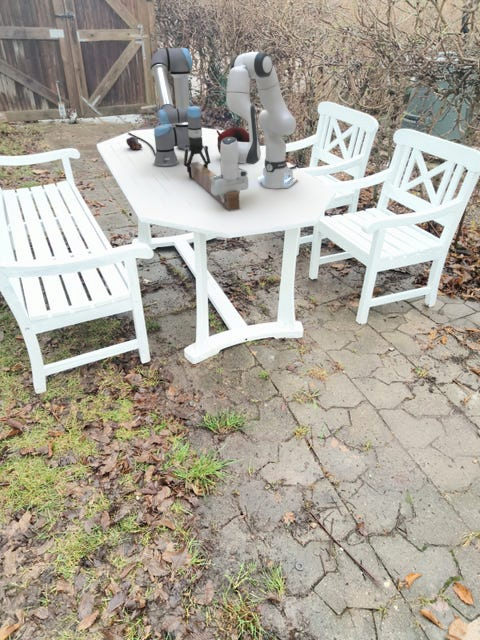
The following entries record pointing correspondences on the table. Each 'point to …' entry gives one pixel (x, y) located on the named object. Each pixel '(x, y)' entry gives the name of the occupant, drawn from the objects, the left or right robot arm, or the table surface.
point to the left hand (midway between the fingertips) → (197, 176)
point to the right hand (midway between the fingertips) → (230, 200)
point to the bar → (204, 179)
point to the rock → (133, 143)
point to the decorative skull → (233, 135)
